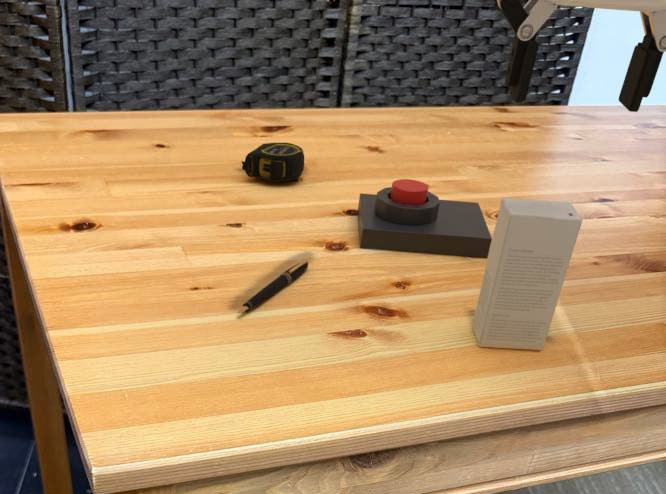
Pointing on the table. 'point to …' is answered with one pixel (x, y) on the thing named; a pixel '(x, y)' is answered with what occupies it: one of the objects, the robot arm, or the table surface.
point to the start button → (409, 192)
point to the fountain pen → (275, 286)
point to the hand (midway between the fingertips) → (572, 101)
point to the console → (422, 226)
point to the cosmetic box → (525, 272)
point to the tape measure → (275, 162)
